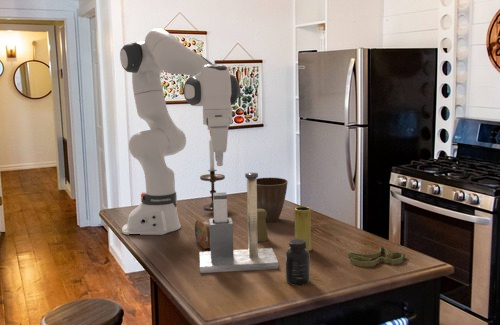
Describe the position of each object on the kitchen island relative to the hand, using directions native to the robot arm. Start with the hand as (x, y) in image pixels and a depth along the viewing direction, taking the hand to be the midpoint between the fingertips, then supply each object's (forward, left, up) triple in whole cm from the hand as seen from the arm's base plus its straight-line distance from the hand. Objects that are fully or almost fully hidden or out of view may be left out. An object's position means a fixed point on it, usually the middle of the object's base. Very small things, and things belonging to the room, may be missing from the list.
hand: (219, 163), depth 172 cm
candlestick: (0, +72, -33) cm, 79 cm away
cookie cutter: (+49, -4, -33) cm, 59 cm away
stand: (+5, 0, -32) cm, 33 cm away
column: (0, 0, -30) cm, 30 cm away
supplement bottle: (+21, -18, -33) cm, 43 cm away
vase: (+28, +10, -33) cm, 44 cm away
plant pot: (+22, +49, -33) cm, 63 cm away
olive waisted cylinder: (+15, +24, -33) cm, 43 cm away
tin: (-5, +20, -33) cm, 39 cm away
